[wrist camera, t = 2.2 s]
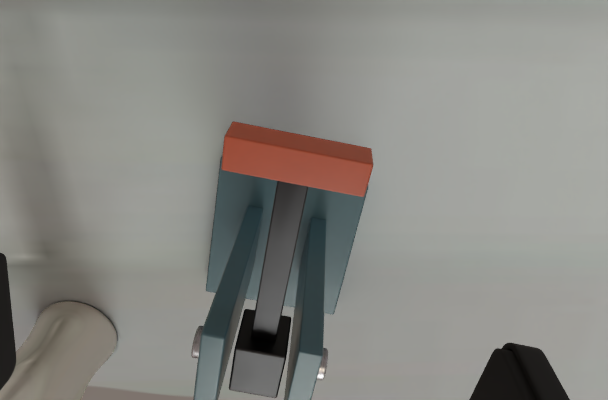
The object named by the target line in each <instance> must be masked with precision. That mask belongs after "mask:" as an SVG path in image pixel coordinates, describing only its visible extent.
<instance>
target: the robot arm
mask: <svg viewBox="0 0 608 400" xmlns="http://www.w3.org/2000/svg"><path fill="white" fill-rule="evenodd" d="M15 366H16V350H15V340H14V330H13V320H12V310H11V300H10V290H9V281H8V271H7V261H6V257H5V255H4V254H2V253H0V390H1V389H2V388H3V387H4V385H5V384H6V383H7V382H8V380H9V379H10V377H11V376H12V374H13V372H14V369H15ZM470 400H570V399H569V398H568V396H567V394H566V392H565V390H564V389H563V387H562V385H561V383H560V381H559V380H558V378H557V376H556V374H555V372H554V371H553V369H552V367H551V365H550V363H549V362H548V360H547V358H546V356H545V354H544V353H543V352H542V350H540V349H538V348H534V347H529V346H524V345H519V344H514V343H507V344H505V345H504V346H503V348H502V349H496V350H494V352H493V353H492V355H491V357H490V359H489V361H488V363H487V365H486V367H485V369H484V371H483V373H482V375H481V377H480V379H479V381H478V383H477V385H476V388H475V390H474V392H473V394H472V396H471V398H470Z"/></svg>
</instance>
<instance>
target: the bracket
mask: <svg viewBox="0 0 608 400" xmlns="http://www.w3.org/2000/svg"><path fill="white" fill-rule="evenodd" d="M222 157H223V156H222ZM222 157H221V161H220V170H219V179H218V187H217V196H216V205H215V214H214V222H213V231H212V240H211V249H210V258H209V266H208V275H207V284H206V291H208V292H214V293H216V294H215V297H214V300H213V302H212V305H211V308H210V311H209V313H208V316H207V319H206V322H205V324H204V326H199V327H198V329H197V331H196V334H195V337H194V341H193V346H192V357H194V358H198V365H197V373H196V382H195V391H194V400H218V397H219V394H220V390H221V386H222V383H223V379H224V375H225V371H226V368H227V364H228V360H229V357H230V353H231V349H232V345H233V342H234V338H235V334H236V331H237V327H238V323H239V319H240V316H241V312H242V308H243V305H244V301H245V298H246V299H252V300H257V297H258V291H259V285H260V280H261V274H262V268H263V262H264V256H265V250H266V244H267V239H268V233H269V227H270V221H271V215H272V209H273V204H274V198H275V192H276V186H277V181H276V180H271V179H266V178H261V177H256V176H250V175H245V174H240V173H235V172H230V171H224V170H222V168H221V167H222ZM367 190H368V185H367V189H366V192H365V196H364V197H360V196H355V195H349V194H344V193H339V192H334V191H329V190H323V189H318V188H313V187H308V191H307V196H306V201H305V206H304V210H303V215H302V220H301V224H300V229H299V234H298V239H297V243H296V248H295V253H294V257H293V262H292V267H291V272H290V276H289V281H288V286H287V290H286V295H285V300H284V306H290V307H295V310H294V318H293V327H292V336H291V345H290V354H289V362H288V371H287V380H286V389H285V397H284V400H311V398H312V394H313V391H314V387H315V383H316V380H323V379H324V376H325V372H326V367H327V360H328V350H327V349H326V348H323V332H324V313H328V314H334V312H335V308H336V304H337V301H338V297H339V293H340V290H341V286H342V282H343V279H344V275H345V271H346V267H347V264H348V260H349V256H350V253H351V249H352V245H353V242H354V238H355V234H356V230H357V227H358V223H359V219H360V216H361V212H362V208H363V205H364V201H365V197H366V193H367Z"/></svg>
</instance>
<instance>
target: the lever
mask: <svg viewBox="0 0 608 400" xmlns="http://www.w3.org/2000/svg"><path fill="white" fill-rule="evenodd" d="M221 168H222V170H224V171H230V172H235V173H240V174H245V175H250V176H256V177H261V178H266V179H271V180H276V181H277V186H276V192H275V198H274V204H273V209H272V215H271V221H270V227H269V233H268V239H267V244H266V250H265V256H264V262H263V268H262V274H261V280H260V285H259V291H258V297H257V303H256V309H255V310H249V309H245V310H244V314H243V318H242V322H241V326H240V330H239V334H238V338H237V342H236V346H235V351H234V357H233V364H232V371H231V378H230V384H229V390H233V391H239V392H244V393H250V394H255V395H261V396H267V397H272V398H276V397H277V395H278V390H279V386H280V382H281V378H282V373H283V369H284V365H285V361H286V355H287V348H288V340H289V332H290V325H291V317H288V316H282V315H281V314H282V309H283V305H284V300H285V295H286V290H287V286H288V281H289V276H290V272H291V267H292V262H293V257H294V253H295V248H296V243H297V239H298V234H299V229H300V224H301V220H302V215H303V210H304V206H305V201H306V196H307V191H308V187H313V188H318V189H323V190H329V191H334V192H339V193H344V194H349V195H355V196H360V197H364V196H365V192H366V189H367V185H368V182H369V178H370V175H371V171H372V168H373V159H372V151H371V149H370V148H366V147H361V146H356V145H351V144H346V143H341V142H335V141H330V140H325V139H320V138H315V137H310V136H305V135H300V134H294V133H289V132H284V131H279V130H274V129H269V128H264V127H259V126H253V125H248V124H243V123H238V122H232V124H231V126H230V127H229V129H228V131H227V133H226V135H225V137H224V147H223V157H222V167H221Z"/></svg>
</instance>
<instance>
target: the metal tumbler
mask: <svg viewBox="0 0 608 400" xmlns="http://www.w3.org/2000/svg"><path fill="white" fill-rule="evenodd" d="M116 345H117V334H116V331H115V328H114V326H113V325H112V323H111V322H110V321H109V319H108V318H107V317H106V316H105V315H104V314H102V313H101V312H100V311H98V310H97V309H95V308H93V307H91V306H89V305H86V304H83V303H79V302H73V301H63V302H58V303H54V304H52V305H50V306H49V307H47V308H46V309H45V310H43V312H42V313H41V314H40V316H39V317H38V319H37V321H36V323H35V325H34V327H33V329H32V331H31V332H30V334H29V336H28V337H27V339H26V340H25V342H24V343H23V344H22V346H21V347H20V348H19V349H18V350H17V351H16V366H15V369H14V372H13V374H12V376H11V377H10V379H9V380H8V382H7V383H6V384H5V385H4V387H3V388H2V389H1V390H0V400H81V399H82V396H83V394H84V391H85V390H86V388H87V386H88V384H89V382H90V380H91V379H92V377H93V376H94V374H95V373H96V372H97V371H98V370H99V369H100V368H101V366H102V365H103V364H104V363H105V362H106V361H107V360H108V359H109V358H110V356H111V355H112V354H113V352H114V350H115V348H116Z"/></svg>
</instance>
